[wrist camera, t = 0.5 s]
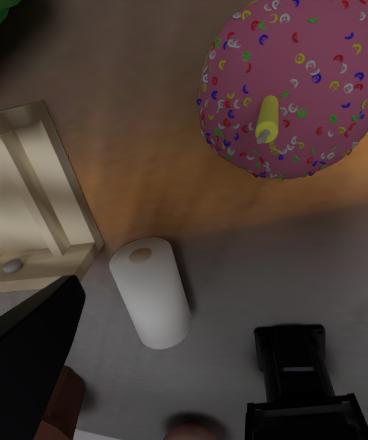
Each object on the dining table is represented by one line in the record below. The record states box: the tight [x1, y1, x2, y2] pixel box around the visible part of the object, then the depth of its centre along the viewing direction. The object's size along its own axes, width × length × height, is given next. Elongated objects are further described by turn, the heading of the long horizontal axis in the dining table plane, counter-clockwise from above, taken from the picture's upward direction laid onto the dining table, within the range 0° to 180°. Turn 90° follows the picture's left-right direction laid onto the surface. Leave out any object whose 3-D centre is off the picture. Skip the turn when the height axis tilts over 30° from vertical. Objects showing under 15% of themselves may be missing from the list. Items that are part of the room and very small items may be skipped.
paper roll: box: [109, 237, 192, 349], centre depth 25 cm, size 8×5×5 cm, turn 12°
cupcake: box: [197, 0, 368, 181], centre depth 13 cm, size 9×8×12 cm
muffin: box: [34, 365, 84, 440], centre depth 34 cm, size 12×11×10 cm
